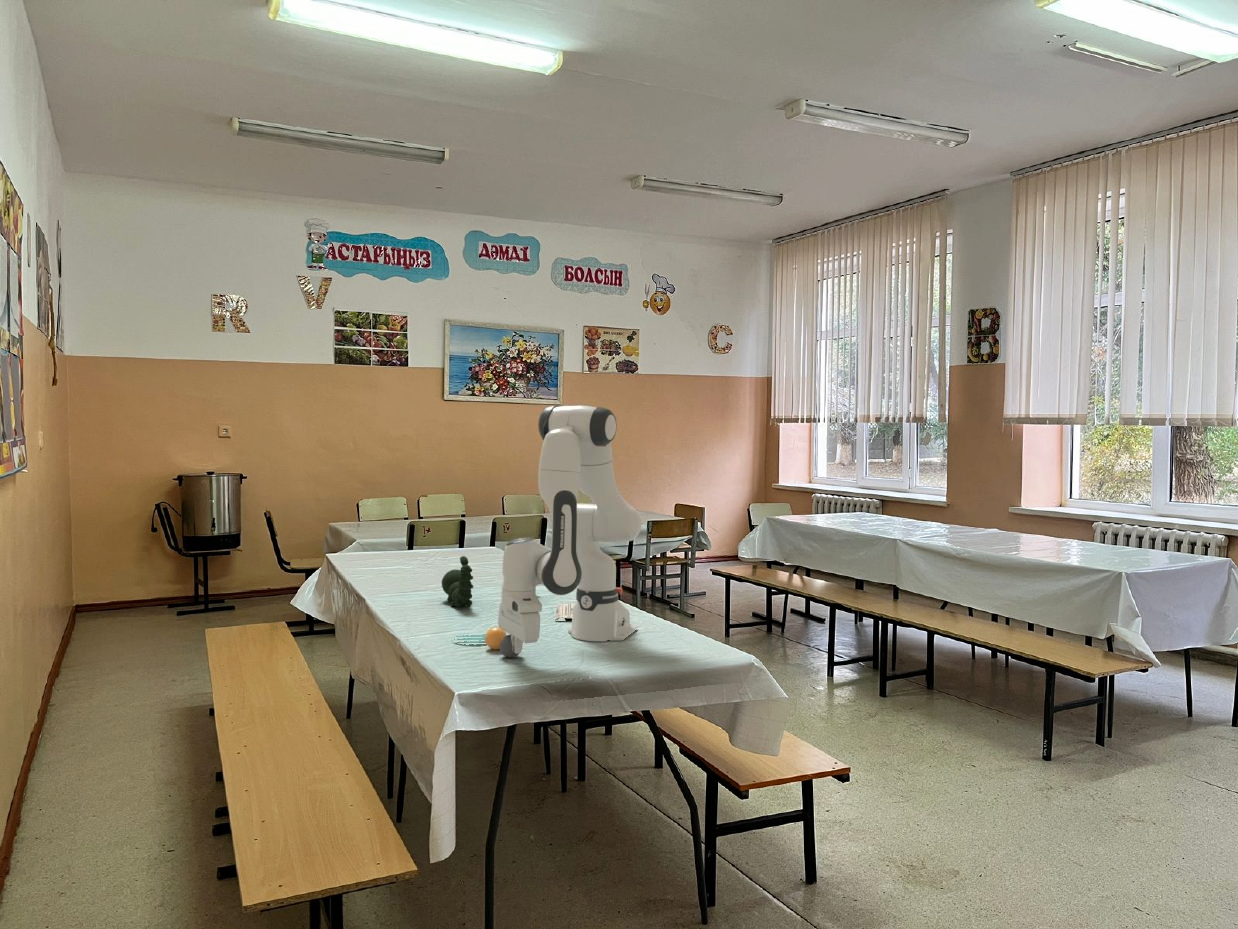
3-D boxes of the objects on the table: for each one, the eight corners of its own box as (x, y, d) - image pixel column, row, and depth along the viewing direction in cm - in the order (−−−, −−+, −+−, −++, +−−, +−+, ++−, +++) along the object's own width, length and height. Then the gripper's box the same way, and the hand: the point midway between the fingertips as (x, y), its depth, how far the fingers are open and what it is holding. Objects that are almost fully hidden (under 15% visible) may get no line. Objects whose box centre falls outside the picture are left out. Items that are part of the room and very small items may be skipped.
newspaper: (551, 609, 284) (552, 601, 284) (586, 613, 285) (587, 606, 285) (549, 624, 262) (550, 616, 262) (587, 628, 262) (588, 620, 262)
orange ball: (493, 645, 233) (494, 624, 233) (511, 648, 230) (511, 626, 230) (480, 650, 228) (480, 628, 227) (498, 653, 225) (498, 631, 224)
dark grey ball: (515, 658, 224) (510, 636, 226) (528, 653, 220) (524, 631, 222) (497, 661, 220) (493, 638, 221) (511, 656, 216) (506, 633, 218)
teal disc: (472, 631, 248) (472, 630, 248) (510, 638, 241) (510, 637, 241) (441, 641, 236) (441, 640, 236) (480, 648, 229) (480, 648, 229)
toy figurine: (479, 615, 277) (463, 594, 300) (481, 559, 275) (465, 542, 298) (451, 617, 274) (437, 595, 296) (453, 560, 271) (438, 543, 294)
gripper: (493, 593, 225) (491, 644, 225) (521, 607, 207) (520, 663, 207) (515, 592, 228) (513, 642, 228) (545, 606, 210) (543, 660, 210)
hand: (516, 652), depth 218 cm, fingers closed
